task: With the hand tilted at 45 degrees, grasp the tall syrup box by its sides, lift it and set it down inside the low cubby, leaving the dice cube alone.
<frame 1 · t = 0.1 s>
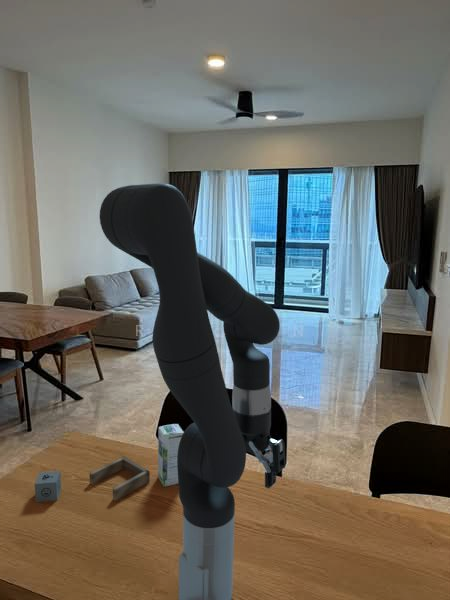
hand: (252, 477, 87), 17 cm above the table, tool pointing down, fingers open, 8 cm apart
cubby: (119, 482, 114), on the table
dice cube: (48, 496, 108), on the table
syrup box: (170, 479, 116), on the table
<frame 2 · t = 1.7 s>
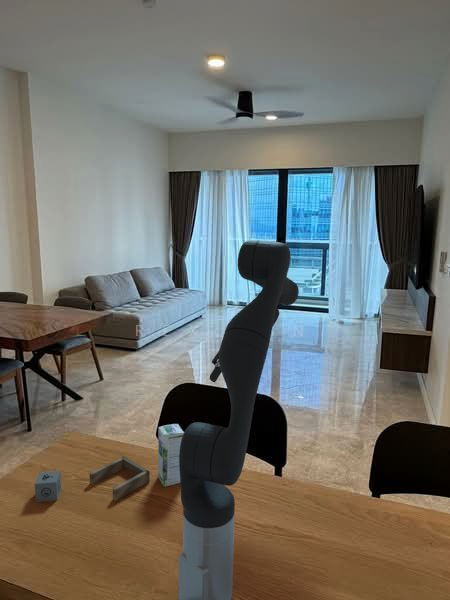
hand: (222, 385, 113), 26 cm above the table, tool tilted 45°, fingers open, 8 cm apart
nothing on the table moved.
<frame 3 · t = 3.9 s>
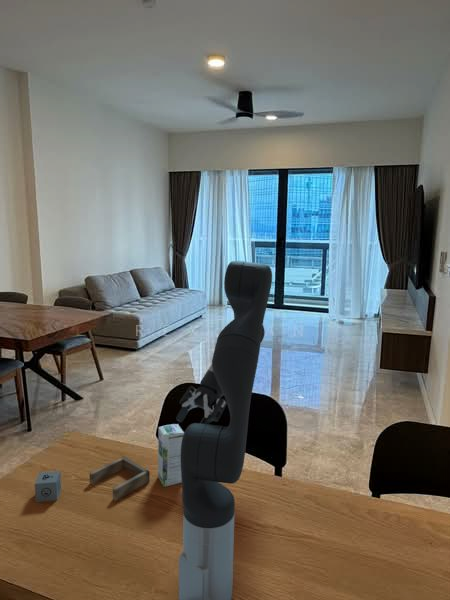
hand: (188, 426, 118), 13 cm above the table, tool tilted 45°, fingers open, 8 cm apart
nothing on the table moved.
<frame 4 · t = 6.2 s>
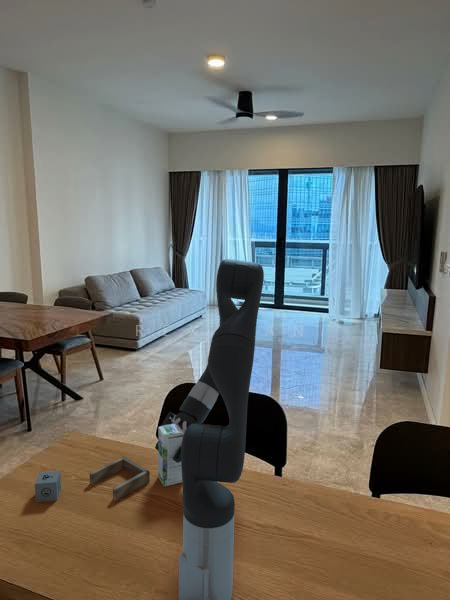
hand: (166, 455, 114), 7 cm above the table, tool tilted 45°, fingers closed on syrup box, 7 cm apart
syrup box: (170, 479, 116), on the table, touching gripper
everything else where it was.
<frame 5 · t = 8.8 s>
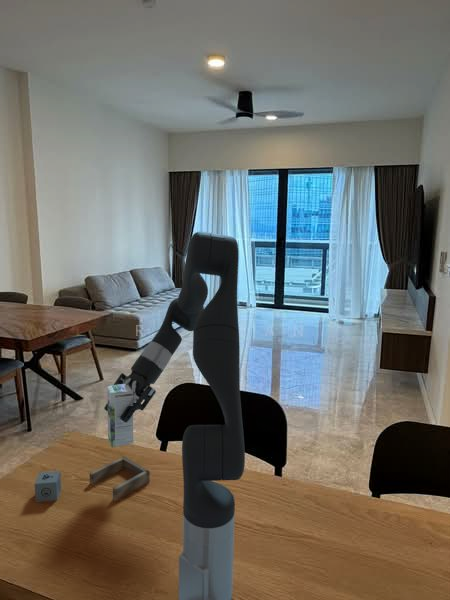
hand: (114, 415, 110), 19 cm above the table, tool tilted 45°, fingers closed on syrup box, 7 cm apart
syrup box: (120, 441, 112), point 12 cm above the table, touching gripper
everything else where it was.
when the fingers open (9 cm above the table, at t = 11.4 s): syrup box drops 1 cm, on the table.
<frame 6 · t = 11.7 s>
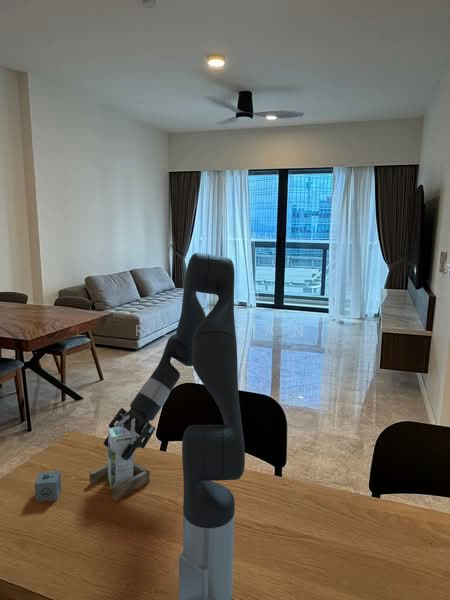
hand: (114, 452, 111), 9 cm above the table, tool tilted 45°, fingers open, 8 cm apart
syrup box: (120, 482, 114), on the table
everything else where it was.
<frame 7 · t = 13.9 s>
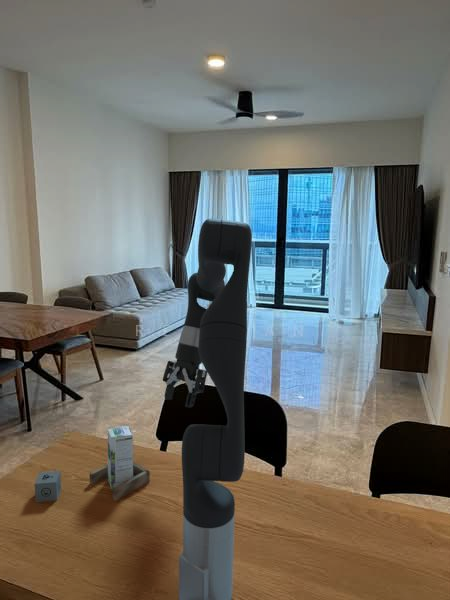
hand: (177, 403, 116), 20 cm above the table, tool tilted 20°, fingers open, 8 cm apart
nothing on the table moved.
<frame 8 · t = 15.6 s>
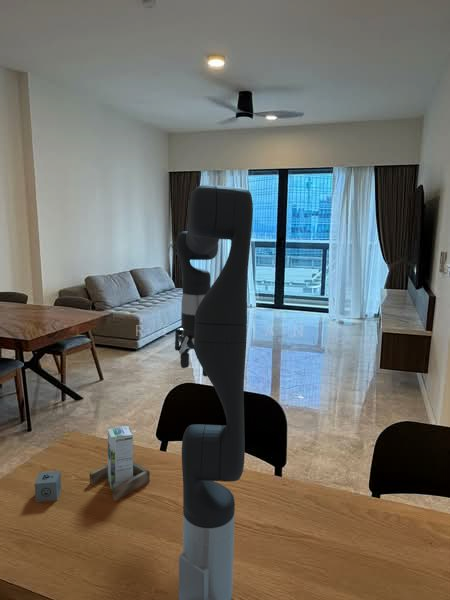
hand: (195, 371, 112), 30 cm above the table, tool pointing down, fingers open, 8 cm apart
nothing on the table moved.
at the end: syrup box inside the target area on the cubby (0.2 cm from its centre), point 0.0 cm above the cubby's base; syrup box tilted 0°; the gripper is holding nothing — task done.
